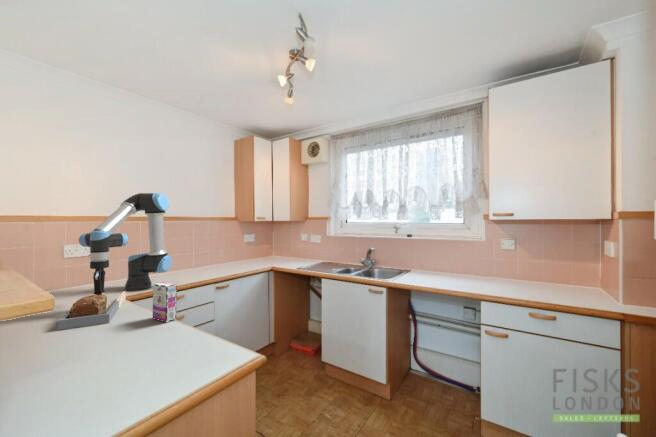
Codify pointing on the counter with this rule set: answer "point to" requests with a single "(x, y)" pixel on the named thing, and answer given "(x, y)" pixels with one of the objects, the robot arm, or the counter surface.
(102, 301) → the bread
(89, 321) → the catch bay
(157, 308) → the candy bar box
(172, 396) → the counter surface
